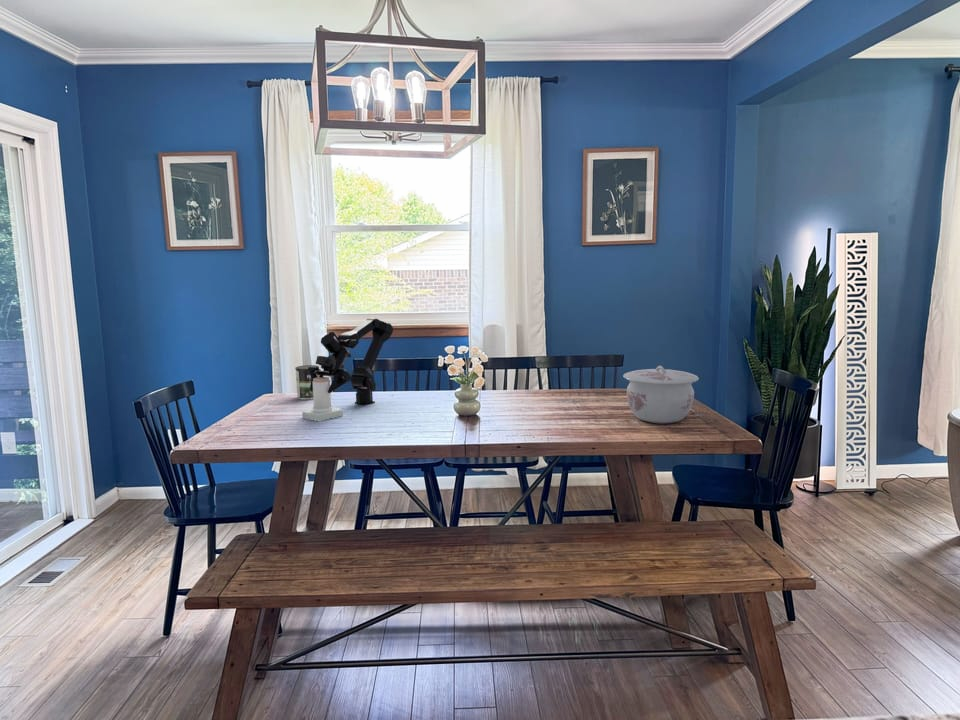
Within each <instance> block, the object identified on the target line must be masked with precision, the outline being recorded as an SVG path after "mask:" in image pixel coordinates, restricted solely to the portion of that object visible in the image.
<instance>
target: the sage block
mask: <svg viewBox="0 0 960 720" xmlns="http://www.w3.org/2000/svg"><path fill="white" fill-rule="evenodd" d="M301 413H302V414H301V415H302V419H305V418H306V419H305V420H309V419H310V421H313V420H314V421H313V422H316V421H319V422H322V421H321V420H323V421H327V420H331V419H330V418H332V419H335V417H336V418H339V416H340V417H343V416H344V409H341V408H338V407H337V408H336V407H333V406H332V411H330V412H326V413H315V412H313V409H309V410H304V411H302V412H301ZM326 419H327V420H326Z"/></svg>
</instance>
